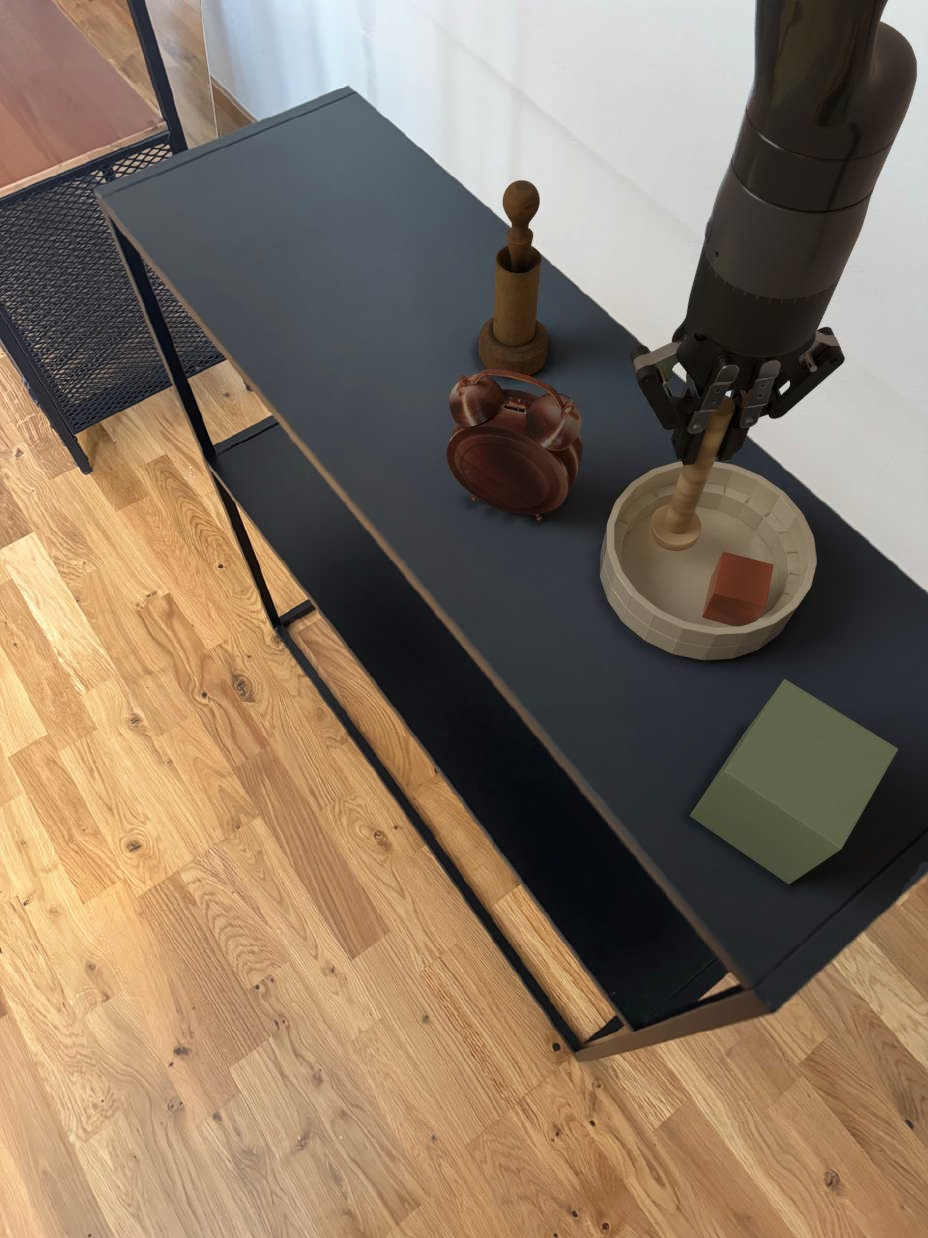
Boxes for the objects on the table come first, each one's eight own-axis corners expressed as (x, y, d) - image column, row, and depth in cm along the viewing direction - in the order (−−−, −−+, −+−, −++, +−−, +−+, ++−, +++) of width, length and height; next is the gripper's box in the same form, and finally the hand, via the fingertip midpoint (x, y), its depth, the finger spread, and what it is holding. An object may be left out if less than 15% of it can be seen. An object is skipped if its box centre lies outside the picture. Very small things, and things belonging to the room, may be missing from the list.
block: (759, 589, 72) (774, 563, 69) (751, 631, 70) (766, 606, 67) (710, 577, 73) (722, 550, 69) (701, 617, 71) (713, 592, 67)
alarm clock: (578, 494, 78) (599, 371, 64) (561, 537, 75) (580, 418, 62) (462, 460, 80) (460, 333, 66) (442, 501, 77) (436, 378, 64)
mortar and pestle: (559, 346, 86) (578, 177, 70) (525, 389, 84) (537, 223, 68) (500, 320, 88) (507, 149, 72) (466, 361, 85) (464, 193, 69)
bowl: (830, 559, 74) (852, 525, 70) (733, 701, 68) (751, 674, 64) (664, 466, 79) (676, 429, 75) (560, 591, 73) (566, 559, 69)
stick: (707, 525, 72) (761, 399, 58) (683, 560, 70) (732, 438, 57) (664, 502, 73) (707, 372, 59) (639, 535, 71) (678, 410, 58)
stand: (840, 796, 64) (898, 748, 56) (788, 885, 62) (841, 849, 53) (743, 733, 67) (784, 678, 58) (689, 816, 64) (723, 771, 55)
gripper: (666, 307, 45) (618, 507, 60) (926, 280, 46) (814, 485, 61) (633, 211, 49) (596, 423, 64) (876, 188, 49) (782, 403, 65)
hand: (703, 452), depth 62 cm, fingers closed on stick, 2 cm apart
